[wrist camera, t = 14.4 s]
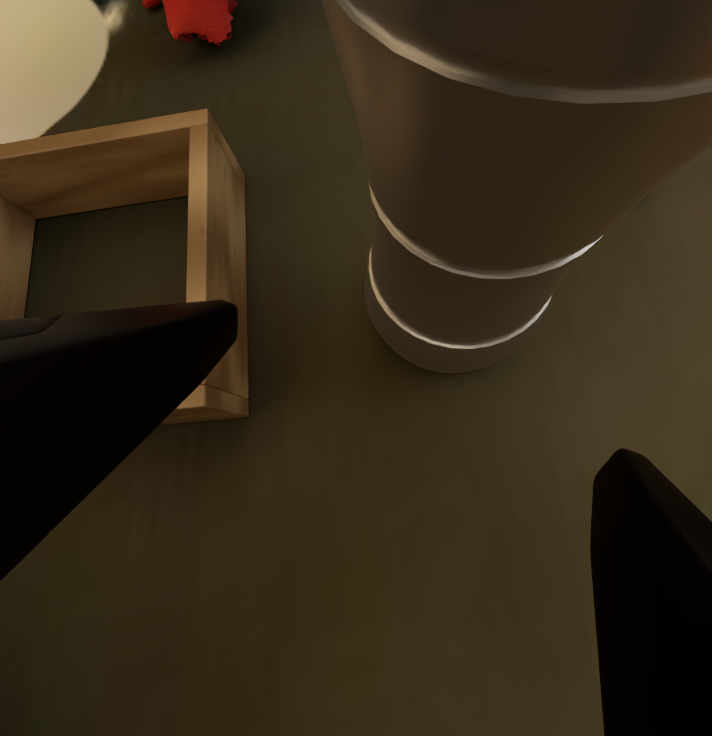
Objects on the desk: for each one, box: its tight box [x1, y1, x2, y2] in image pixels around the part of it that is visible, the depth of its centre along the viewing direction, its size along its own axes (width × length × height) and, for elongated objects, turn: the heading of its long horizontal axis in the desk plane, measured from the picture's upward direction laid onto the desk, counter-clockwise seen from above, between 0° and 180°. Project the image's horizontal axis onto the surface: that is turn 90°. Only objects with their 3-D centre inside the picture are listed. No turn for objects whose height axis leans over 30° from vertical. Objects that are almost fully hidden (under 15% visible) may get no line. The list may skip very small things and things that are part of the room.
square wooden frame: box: [0, 109, 249, 425], centre depth 17 cm, size 13×13×4 cm
